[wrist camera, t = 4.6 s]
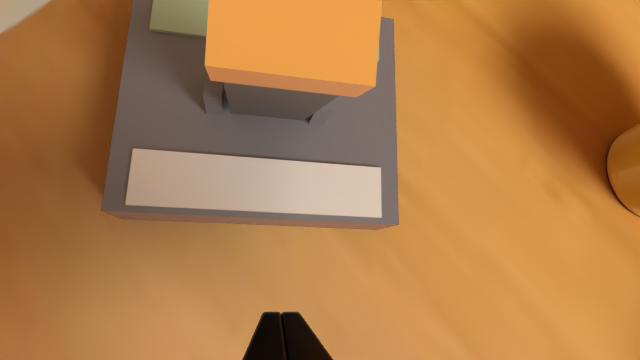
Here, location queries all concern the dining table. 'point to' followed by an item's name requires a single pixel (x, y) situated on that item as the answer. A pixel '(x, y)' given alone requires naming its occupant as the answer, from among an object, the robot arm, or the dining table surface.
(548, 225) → the dining table surface
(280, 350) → the robot arm
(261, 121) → the switch base
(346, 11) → the handle
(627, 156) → the plant pot
